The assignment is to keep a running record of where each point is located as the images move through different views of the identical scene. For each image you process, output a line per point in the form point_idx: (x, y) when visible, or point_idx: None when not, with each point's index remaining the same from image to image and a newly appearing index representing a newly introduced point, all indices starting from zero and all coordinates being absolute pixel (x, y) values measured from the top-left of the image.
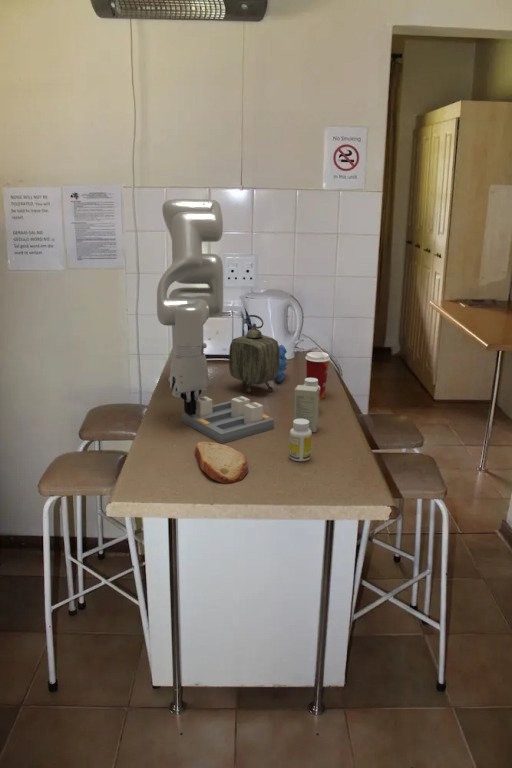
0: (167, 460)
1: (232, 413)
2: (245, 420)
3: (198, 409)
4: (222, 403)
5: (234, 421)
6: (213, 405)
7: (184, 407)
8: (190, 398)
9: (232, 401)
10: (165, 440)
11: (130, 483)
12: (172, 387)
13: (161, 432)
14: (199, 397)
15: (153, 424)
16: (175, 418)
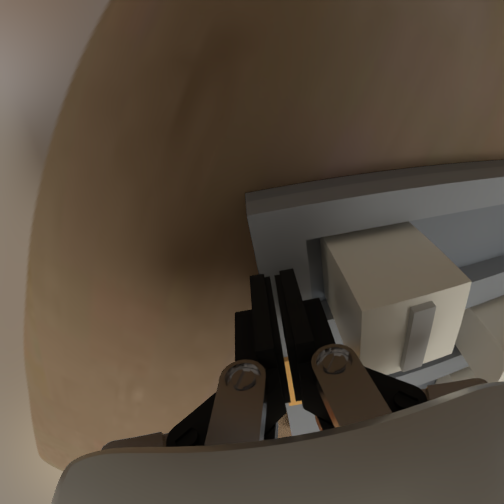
0: (110, 436)
1: (469, 318)
2: (446, 378)
3: (340, 319)
4: None
5: (413, 384)
6: (484, 184)
7: (235, 332)
8: (275, 435)
9: (500, 359)
10: (108, 355)
11: (47, 449)
12: (90, 471)
13: (98, 284)
14: (413, 316)
15: (74, 169)
16: (226, 119)
